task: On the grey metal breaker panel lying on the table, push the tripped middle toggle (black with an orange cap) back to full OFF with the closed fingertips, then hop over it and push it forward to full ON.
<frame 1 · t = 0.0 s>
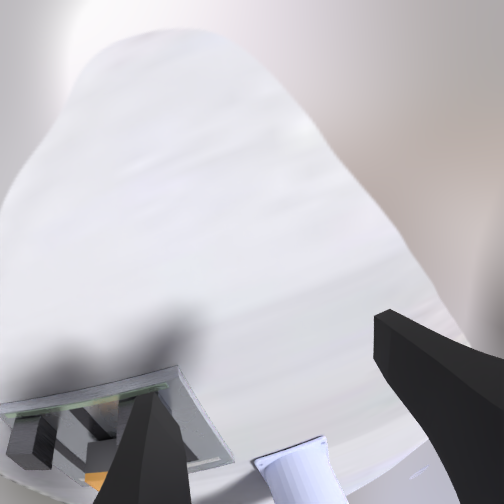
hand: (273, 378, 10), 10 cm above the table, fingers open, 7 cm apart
breaker panel: (116, 438, 24), on the table
tripped toggle: (109, 466, 20), point 4 cm above the table, slide at 4.0 cm
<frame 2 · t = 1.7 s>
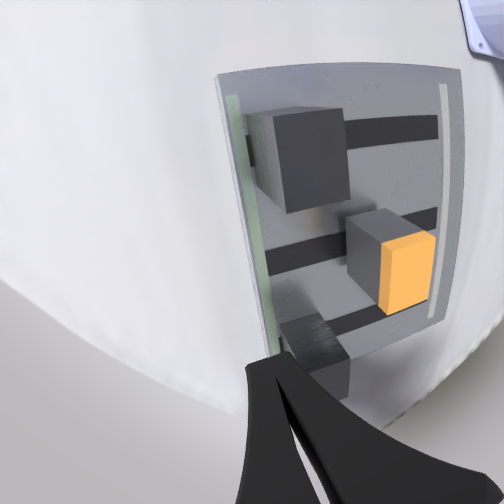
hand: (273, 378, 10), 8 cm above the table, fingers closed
breaker panel: (366, 226, 18), on the table
tripped toggle: (387, 257, 14), point 4 cm above the table, slide at 4.0 cm
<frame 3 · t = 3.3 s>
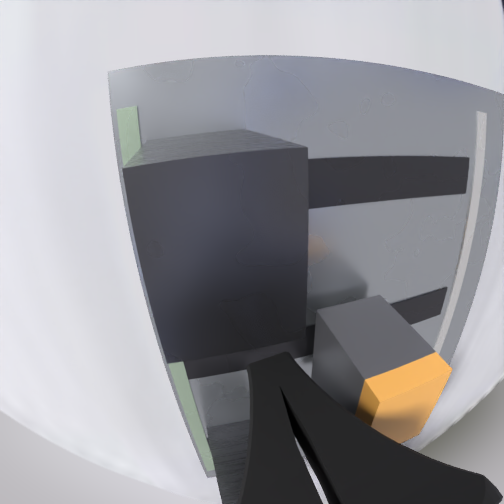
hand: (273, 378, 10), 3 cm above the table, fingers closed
breaker panel: (343, 309, 12), on the table
tripped toggle: (371, 376, 9), point 4 cm above the table, slide at 3.7 cm, touching gripper
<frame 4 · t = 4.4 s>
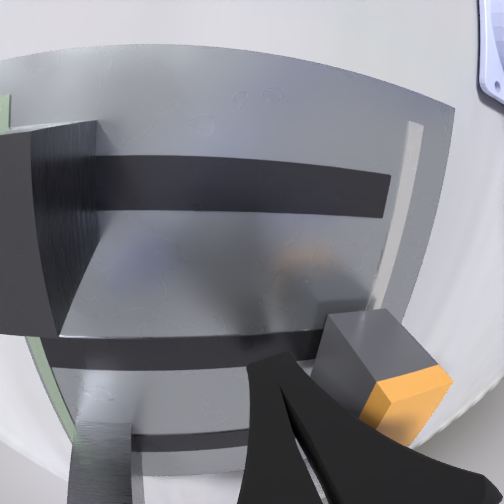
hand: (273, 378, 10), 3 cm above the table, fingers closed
breaker panel: (222, 330, 12), on the table
tripped toggle: (372, 384, 9), point 4 cm above the table, slide at -1.3 cm, touching gripper
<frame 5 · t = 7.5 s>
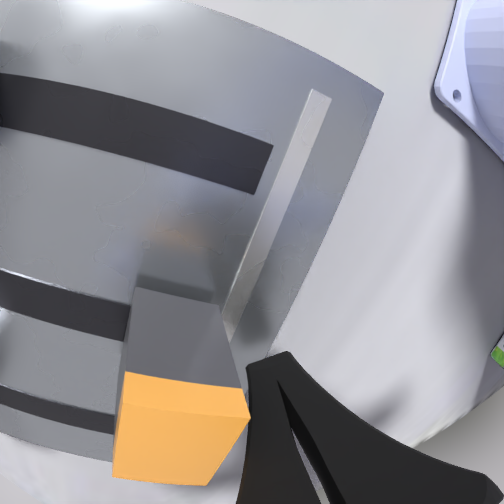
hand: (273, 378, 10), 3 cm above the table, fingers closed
breaker panel: (69, 286, 9), on the table
tripped toggle: (166, 389, 7), point 4 cm above the table, slide at -0.4 cm, touching gripper
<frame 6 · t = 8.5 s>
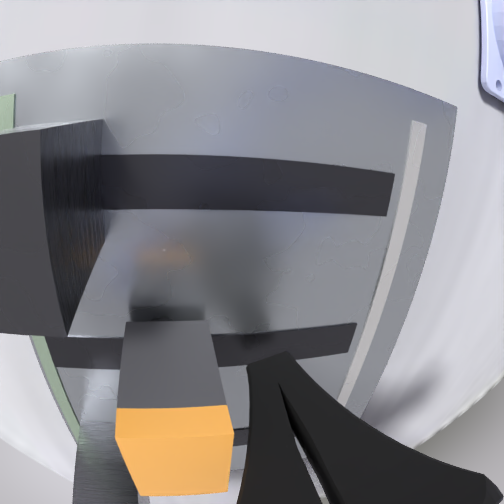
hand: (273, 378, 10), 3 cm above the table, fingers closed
breaker panel: (228, 328, 12), on the table
tripped toggle: (172, 410, 8), point 4 cm above the table, slide at 5.2 cm, touching gripper
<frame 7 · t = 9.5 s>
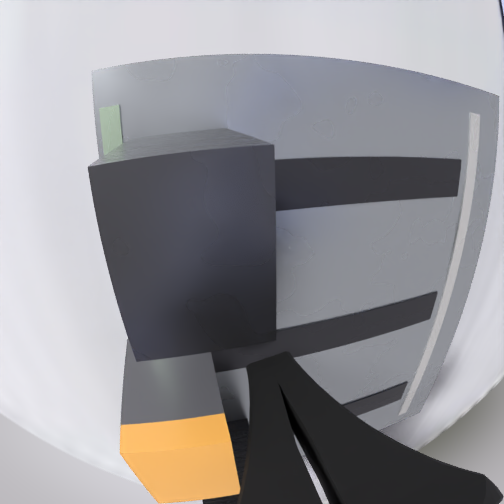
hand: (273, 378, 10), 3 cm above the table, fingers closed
breaker panel: (330, 312, 12), on the table
tripped toggle: (180, 419, 8), point 4 cm above the table, slide at 9.1 cm, touching gripper
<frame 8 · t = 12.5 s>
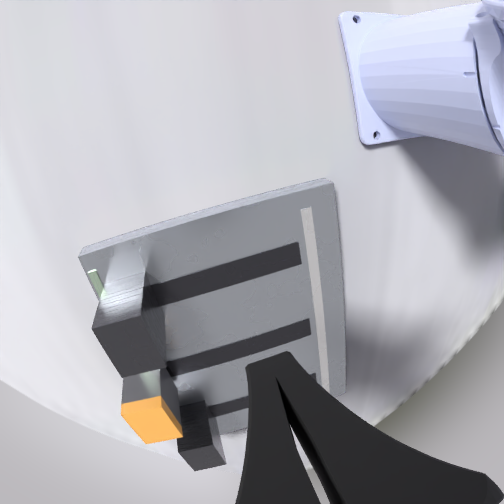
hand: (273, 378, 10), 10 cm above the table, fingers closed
breaker panel: (239, 336, 21), on the table
tripped toggle: (152, 401, 17), point 4 cm above the table, slide at 9.2 cm
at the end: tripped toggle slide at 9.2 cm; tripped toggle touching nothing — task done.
